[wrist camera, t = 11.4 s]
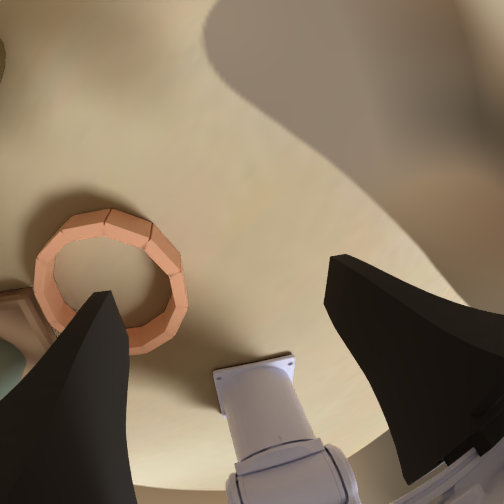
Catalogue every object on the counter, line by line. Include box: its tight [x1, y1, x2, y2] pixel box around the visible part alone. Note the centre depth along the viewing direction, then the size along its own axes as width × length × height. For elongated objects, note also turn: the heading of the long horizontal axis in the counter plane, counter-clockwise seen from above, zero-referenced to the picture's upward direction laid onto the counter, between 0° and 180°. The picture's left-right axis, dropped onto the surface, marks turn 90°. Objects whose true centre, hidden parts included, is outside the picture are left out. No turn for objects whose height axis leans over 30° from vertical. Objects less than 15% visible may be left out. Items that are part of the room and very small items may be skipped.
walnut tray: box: [0, 287, 57, 380], centre depth 18 cm, size 13×13×2 cm
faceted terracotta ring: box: [34, 208, 188, 356], centre depth 18 cm, size 11×11×2 cm
